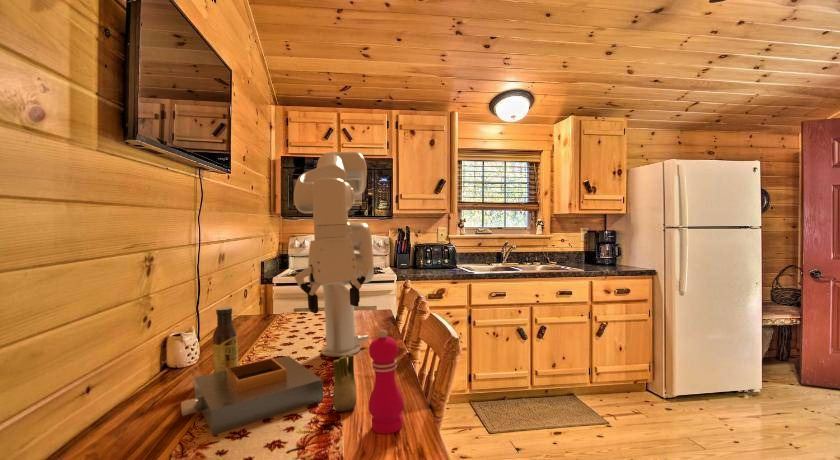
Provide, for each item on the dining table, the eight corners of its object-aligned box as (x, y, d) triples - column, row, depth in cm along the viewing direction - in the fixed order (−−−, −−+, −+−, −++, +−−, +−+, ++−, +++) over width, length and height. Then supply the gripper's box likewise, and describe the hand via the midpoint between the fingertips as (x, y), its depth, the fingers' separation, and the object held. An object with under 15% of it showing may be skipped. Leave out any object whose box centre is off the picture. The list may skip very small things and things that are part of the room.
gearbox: (289, 373, 117) (288, 347, 117) (323, 400, 98) (321, 369, 97) (176, 402, 100) (174, 371, 100) (190, 441, 81) (188, 404, 81)
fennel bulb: (355, 402, 96) (352, 351, 96) (361, 410, 91) (358, 357, 91) (330, 408, 93) (327, 356, 93) (335, 417, 89) (333, 362, 89)
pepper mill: (370, 419, 87) (365, 326, 87) (404, 416, 88) (399, 324, 87) (368, 437, 80) (364, 335, 79) (405, 434, 80) (401, 333, 80)
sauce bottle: (229, 384, 111) (225, 311, 110) (209, 383, 112) (205, 311, 112) (244, 375, 117) (240, 306, 117) (225, 374, 118) (221, 306, 118)
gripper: (358, 231, 100) (362, 301, 100) (287, 235, 90) (291, 312, 90) (373, 231, 94) (376, 305, 94) (298, 235, 84) (302, 318, 84)
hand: (335, 308), depth 92 cm, fingers open, 9 cm apart
